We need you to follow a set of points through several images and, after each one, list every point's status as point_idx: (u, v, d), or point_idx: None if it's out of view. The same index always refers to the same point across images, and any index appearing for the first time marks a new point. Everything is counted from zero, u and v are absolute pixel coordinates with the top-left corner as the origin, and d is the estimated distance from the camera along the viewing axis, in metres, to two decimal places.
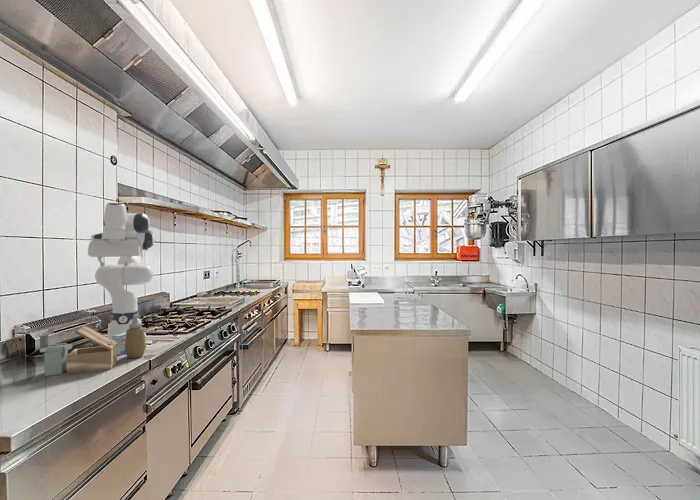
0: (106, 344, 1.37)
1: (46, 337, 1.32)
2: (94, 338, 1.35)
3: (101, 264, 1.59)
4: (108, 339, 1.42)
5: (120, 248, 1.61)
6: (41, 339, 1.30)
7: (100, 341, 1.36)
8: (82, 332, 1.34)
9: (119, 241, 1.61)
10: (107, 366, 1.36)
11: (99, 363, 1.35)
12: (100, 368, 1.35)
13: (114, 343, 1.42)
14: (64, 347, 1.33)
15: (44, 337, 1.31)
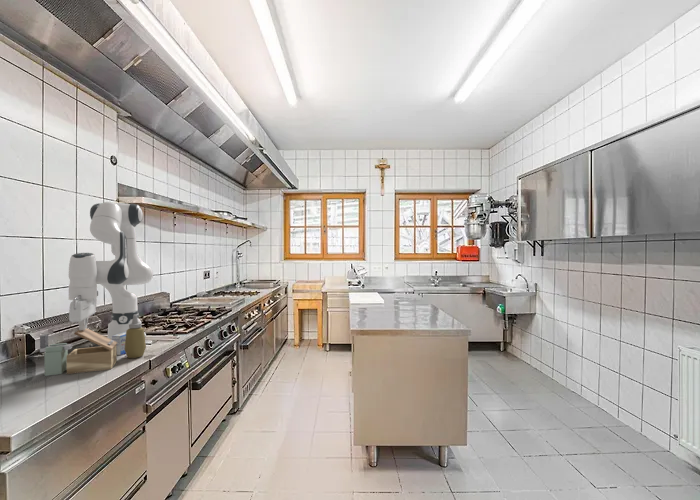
0: (106, 344, 1.37)
1: (46, 337, 1.32)
2: (93, 338, 1.35)
3: None
4: (108, 339, 1.42)
5: None
6: (41, 339, 1.30)
7: (100, 341, 1.36)
8: (81, 333, 1.34)
9: None
10: (107, 366, 1.36)
11: (99, 363, 1.35)
12: (100, 368, 1.35)
13: (114, 343, 1.42)
14: (64, 347, 1.33)
15: (44, 337, 1.31)
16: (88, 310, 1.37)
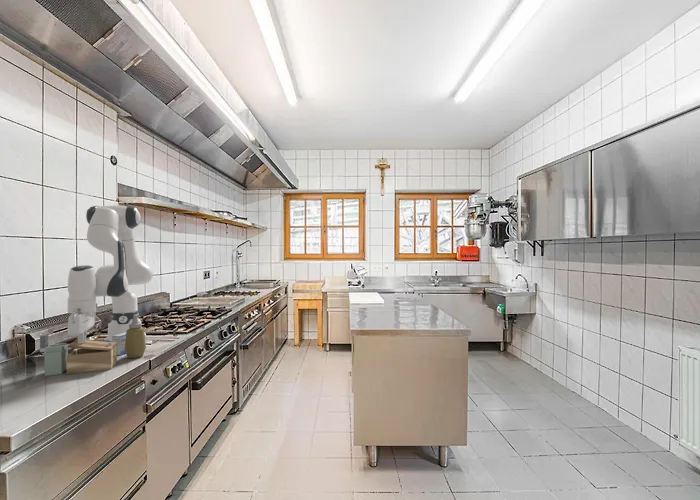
0: (104, 346, 1.36)
1: (46, 337, 1.32)
2: (89, 345, 1.35)
3: None
4: (105, 342, 1.42)
5: None
6: (41, 339, 1.30)
7: (97, 346, 1.36)
8: (75, 344, 1.33)
9: None
10: (107, 366, 1.36)
11: (99, 363, 1.35)
12: (100, 368, 1.35)
13: (113, 343, 1.42)
14: (64, 347, 1.33)
15: (44, 337, 1.31)
16: (87, 323, 1.37)
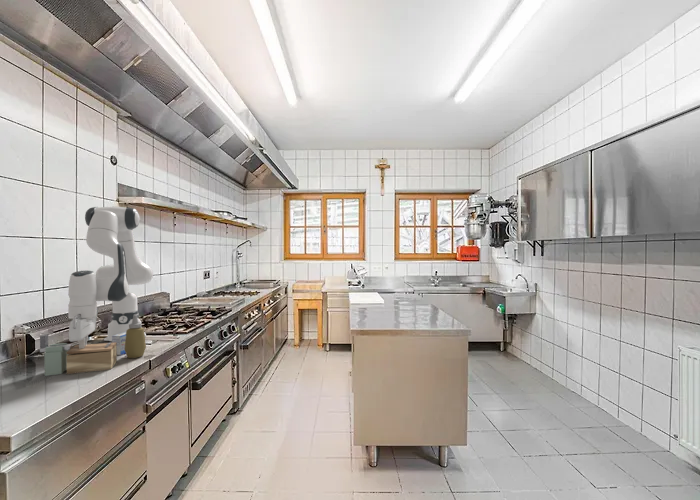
0: (103, 348, 1.36)
1: (46, 337, 1.32)
2: (88, 349, 1.34)
3: None
4: (105, 344, 1.42)
5: None
6: (41, 339, 1.30)
7: (96, 348, 1.35)
8: (74, 350, 1.33)
9: (74, 320, 1.34)
10: (107, 366, 1.36)
11: (99, 363, 1.35)
12: (100, 368, 1.35)
13: (112, 344, 1.42)
14: (64, 347, 1.33)
15: (44, 337, 1.31)
16: (88, 328, 1.37)
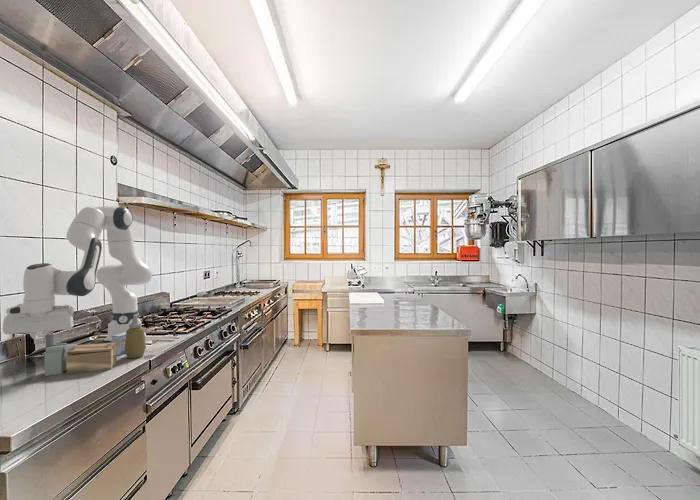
0: (103, 348, 1.36)
1: (51, 337, 1.32)
2: (88, 349, 1.34)
3: (35, 341, 1.30)
4: (105, 344, 1.42)
5: (46, 322, 1.31)
6: (47, 339, 1.31)
7: (96, 348, 1.35)
8: (74, 350, 1.33)
9: (44, 313, 1.30)
10: (107, 366, 1.36)
11: (99, 363, 1.35)
12: (100, 368, 1.35)
13: (112, 344, 1.42)
14: (69, 347, 1.34)
15: (49, 337, 1.31)
16: None
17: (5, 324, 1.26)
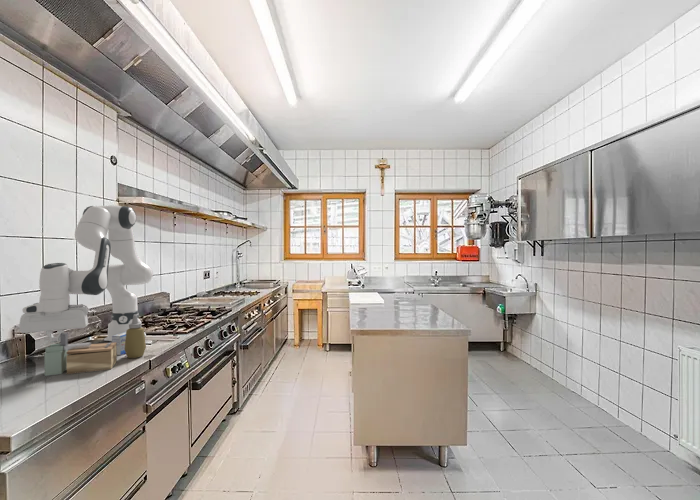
0: (103, 348, 1.36)
1: (66, 335, 1.34)
2: (88, 349, 1.34)
3: (51, 340, 1.32)
4: (105, 344, 1.42)
5: (61, 321, 1.33)
6: (61, 337, 1.33)
7: (96, 348, 1.35)
8: (74, 350, 1.33)
9: (60, 312, 1.32)
10: (107, 366, 1.36)
11: (99, 363, 1.35)
12: (100, 368, 1.35)
13: (112, 344, 1.42)
14: (83, 345, 1.36)
15: (64, 335, 1.33)
16: None
17: (22, 323, 1.28)
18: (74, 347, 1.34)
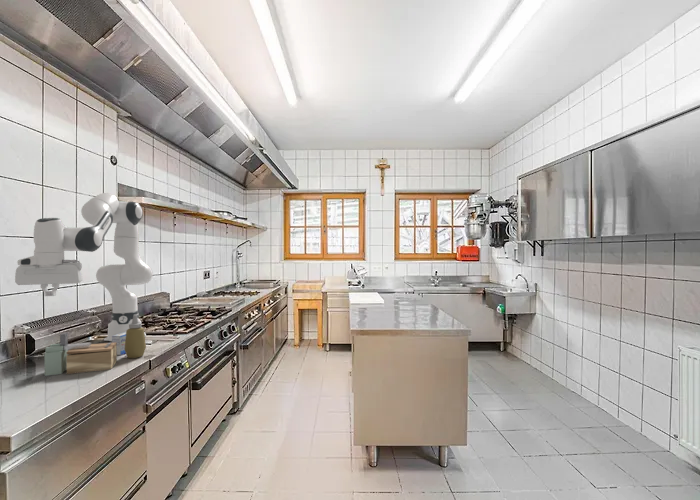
0: (103, 348, 1.36)
1: (66, 335, 1.34)
2: (88, 349, 1.34)
3: (45, 293, 1.33)
4: (105, 344, 1.42)
5: (55, 275, 1.33)
6: (61, 337, 1.33)
7: (96, 348, 1.35)
8: (74, 350, 1.33)
9: (53, 266, 1.32)
10: (107, 366, 1.36)
11: (99, 363, 1.35)
12: (100, 368, 1.35)
13: (112, 344, 1.42)
14: (83, 345, 1.36)
15: (64, 335, 1.33)
16: None
17: (17, 275, 1.29)
18: (74, 347, 1.34)
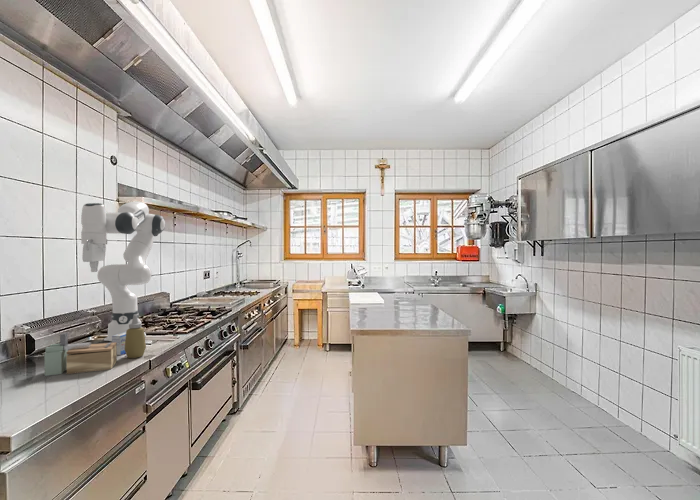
0: (103, 348, 1.36)
1: (66, 335, 1.34)
2: (88, 349, 1.34)
3: None
4: (105, 344, 1.42)
5: None
6: (61, 337, 1.33)
7: (96, 348, 1.35)
8: (74, 350, 1.33)
9: None
10: (107, 366, 1.36)
11: (99, 363, 1.35)
12: (100, 368, 1.35)
13: (112, 344, 1.42)
14: (83, 345, 1.36)
15: (64, 335, 1.33)
16: (99, 254, 1.52)
17: None
18: (74, 347, 1.34)
